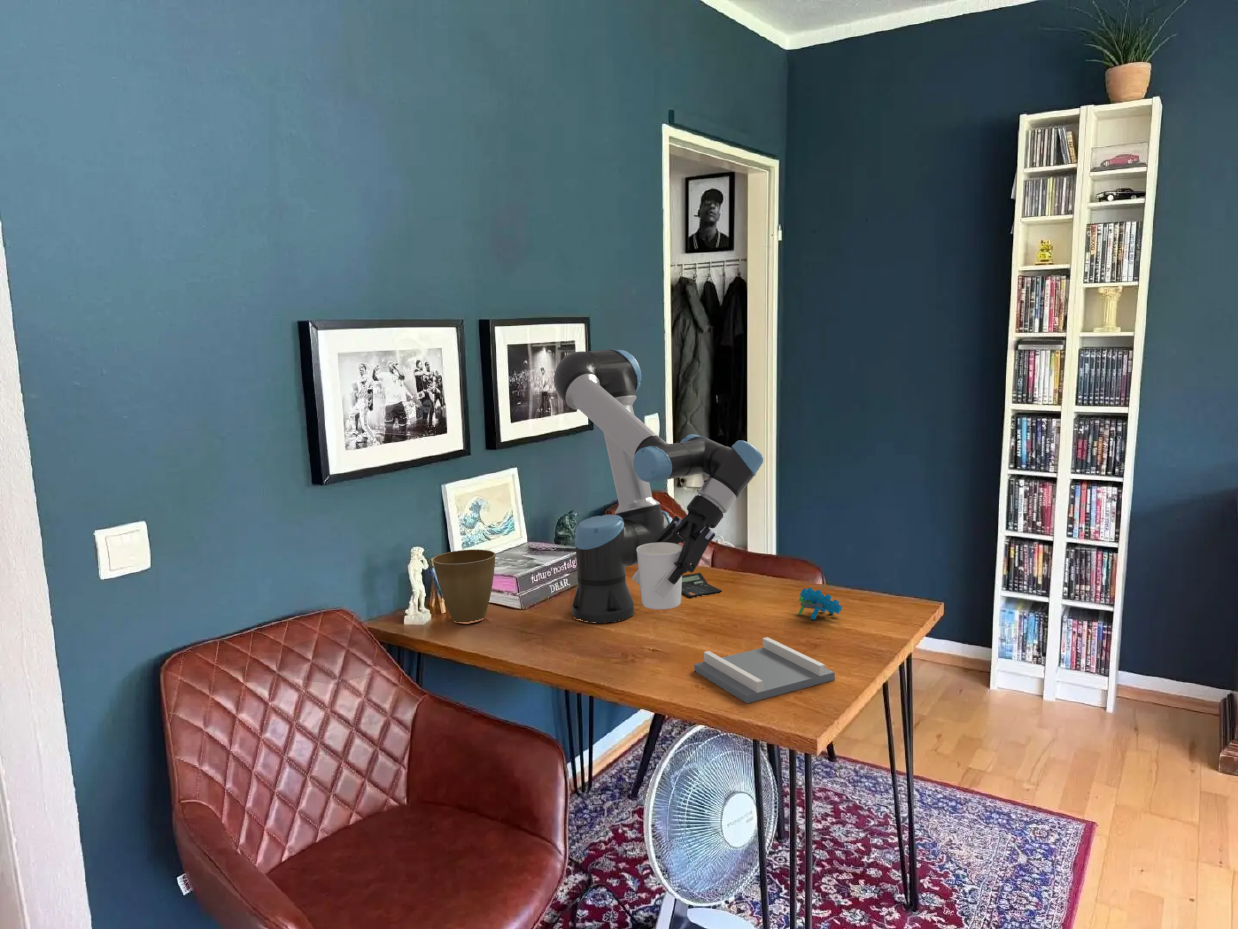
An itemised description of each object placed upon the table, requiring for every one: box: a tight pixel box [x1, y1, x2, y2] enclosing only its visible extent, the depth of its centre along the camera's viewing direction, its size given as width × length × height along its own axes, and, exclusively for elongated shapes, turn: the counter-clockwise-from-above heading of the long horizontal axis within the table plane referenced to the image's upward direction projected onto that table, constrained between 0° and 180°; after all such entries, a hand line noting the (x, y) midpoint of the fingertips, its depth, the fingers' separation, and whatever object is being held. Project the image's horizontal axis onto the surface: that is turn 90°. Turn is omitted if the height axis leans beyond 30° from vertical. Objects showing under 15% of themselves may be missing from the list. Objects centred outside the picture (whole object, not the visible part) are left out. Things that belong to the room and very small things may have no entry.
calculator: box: [681, 572, 723, 599], centre depth 225 cm, size 9×12×3 cm
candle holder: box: [636, 542, 683, 610], centre depth 180 cm, size 10×10×12 cm
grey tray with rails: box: [693, 636, 836, 704], centre depth 166 cm, size 20×18×4 cm
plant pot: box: [432, 548, 496, 622], centre depth 207 cm, size 15×15×16 cm
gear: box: [797, 587, 843, 621], centre depth 198 cm, size 11×6×10 cm
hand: (647, 588), depth 179 cm, fingers closed on candle holder, 9 cm apart
